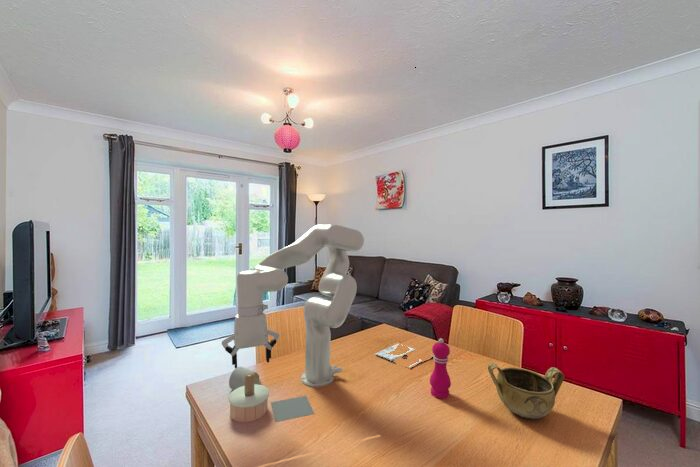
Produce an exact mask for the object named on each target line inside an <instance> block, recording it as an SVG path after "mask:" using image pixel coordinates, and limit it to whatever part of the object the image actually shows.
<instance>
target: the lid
mask: <svg viewBox="0 0 700 467" xmlns="http://www.w3.org/2000/svg"><path fill="white" fill-rule="evenodd" d="M269 397H270V390H269V388H268V387H267V386H266V385H263V384H259V385H258V384H255V374H254V373H247V374H245V383H244V386H242V387H239V388H237V389H235V390H232V391H231V392H230V393H229V395H228V402H229V405H230V404H231V405H233V406H235V407H240V408H247V407H253V406H256V405H259V404H261V403H263V402H264V401H265V400H267V398H269Z"/></svg>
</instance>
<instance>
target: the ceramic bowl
mask: <svg viewBox="0 0 700 467" xmlns="http://www.w3.org/2000/svg"><path fill="white" fill-rule="evenodd" d="M496 369H497V371H498V372H497V376H495V374H494V370H496ZM487 371H488V373H489V375H490V378H491V380H492V382H493V384H494V386H495V388H496V393H497V395H498V398H499V399H500V401H501V402H502V404H503V405H504V406H505V408H507V409H508V410H509V411H510V412H512V413H513V414H515V415H516V414H517V415H516V416H518V415H519V417H520V418H521V417H522V418H524V417H525V418H524V419H529V418H530V420H531V419H534V420H536V419H541V418H543V417H546V416H547V415H549V414H550V413H551V412H552V410H553V408H554V406H555V404H556V396H557V394H558V393H559V391H560V388H561V386H562V384H563V382H564V380H565V375H564V373H563V372H562V371H561V370H560V369H558V368H557V367H554V366H553V367H550V368H548V369H547V371H546V372H545V374H544V375H542V374H540V373H537V372H535V371H533V370H529V369H526V368H520V367H513V366H512V367H511V366H510V367H508V366H507V367H503V368H500V367H499V366H498V364H496V363H494V362H490V363H489V364H487Z"/></svg>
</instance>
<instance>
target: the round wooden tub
mask: <svg viewBox="0 0 700 467" xmlns="http://www.w3.org/2000/svg"><path fill="white" fill-rule="evenodd" d="M268 398H269V397H268ZM268 398H267V400H265V401H264V402H263V403H261V404H259V405H256V406H253V407H247V408H240V407H235V406H233V405H231V404H230V403H229V405H230V408H229V412H230V413H229V415H230V416H229V418H230V419H231V420H233V421H235V422H239V423H247V422H248V423H249V422H253V421H257V420H258V419H260V418H262V417H264V416H265V414H266V413H267V412H268Z"/></svg>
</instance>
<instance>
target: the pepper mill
mask: <svg viewBox="0 0 700 467" xmlns="http://www.w3.org/2000/svg"><path fill="white" fill-rule="evenodd" d="M444 341H445V340H444V339H443V338H439V339H438V341H437V342H435V343H434V344H433V345H432V348H431V351H432V353H433V355H432V356H433V359H432V360H433V361H434V369H433V370H432V372H431V374H430V376H429V383H430V394H431V396H432V397H434V396H435V397H434V398H436V397H438V398H437V399H439V398H446V399H448V398H449V397H450V388H451V386H452V383H451V377H450V375H449V373H448V369H447V363H448V362H449V357H448V356H450V352H451V351H450V346H449V345H448V344H447V343H446V342H444ZM448 396H449V397H448ZM447 397H448V398H447Z"/></svg>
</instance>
